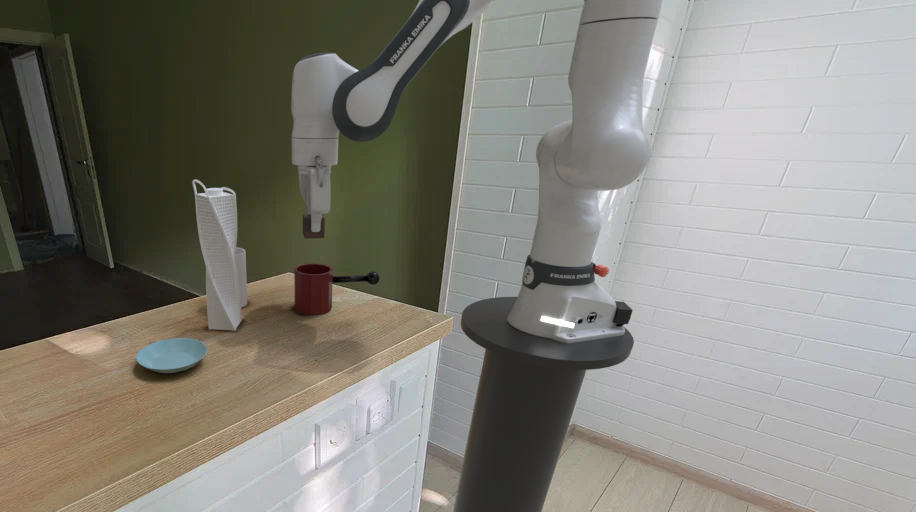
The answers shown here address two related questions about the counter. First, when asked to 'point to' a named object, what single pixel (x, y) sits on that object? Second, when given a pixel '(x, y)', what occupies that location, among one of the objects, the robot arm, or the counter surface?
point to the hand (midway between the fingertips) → (313, 228)
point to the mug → (241, 274)
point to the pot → (321, 287)
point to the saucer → (172, 355)
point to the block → (307, 227)
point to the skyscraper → (219, 255)
